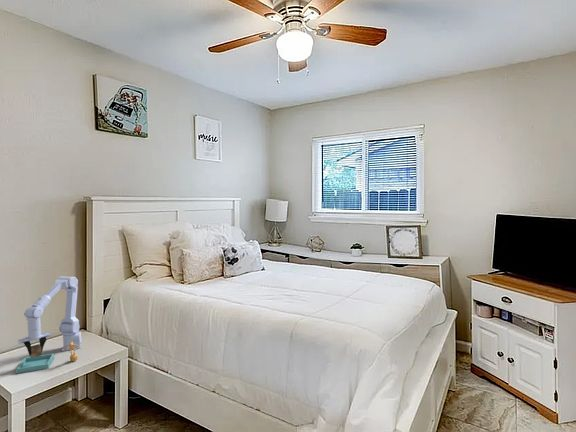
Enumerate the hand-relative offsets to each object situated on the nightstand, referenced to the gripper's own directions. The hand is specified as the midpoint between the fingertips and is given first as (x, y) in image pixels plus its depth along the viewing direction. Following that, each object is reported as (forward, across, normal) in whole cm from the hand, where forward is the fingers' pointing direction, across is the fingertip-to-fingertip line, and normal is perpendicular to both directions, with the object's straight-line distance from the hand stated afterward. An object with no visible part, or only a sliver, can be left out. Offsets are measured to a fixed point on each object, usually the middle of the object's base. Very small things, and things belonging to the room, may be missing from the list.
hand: (35, 352), depth 195 cm
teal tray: (+7, 0, 0) cm, 7 cm away
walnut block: (+2, 0, 0) cm, 2 cm away
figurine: (+7, -15, +10) cm, 20 cm away
